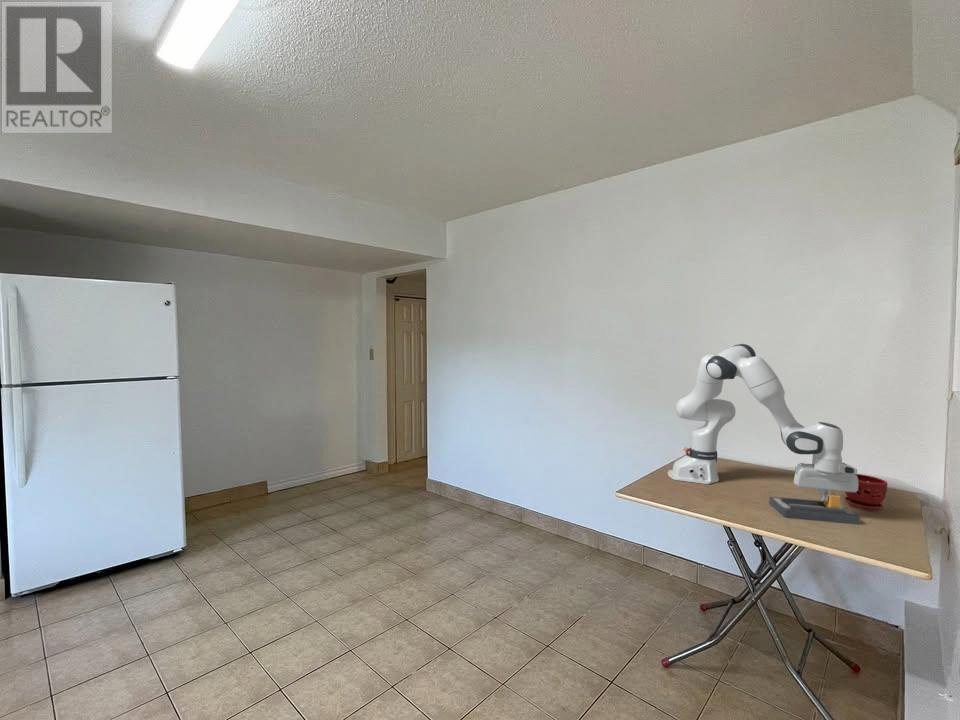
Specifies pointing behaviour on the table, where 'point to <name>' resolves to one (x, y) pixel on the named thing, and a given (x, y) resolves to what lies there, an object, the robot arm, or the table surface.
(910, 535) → the table surface
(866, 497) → the plant pot
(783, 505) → the gray rectangular tray
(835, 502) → the block
